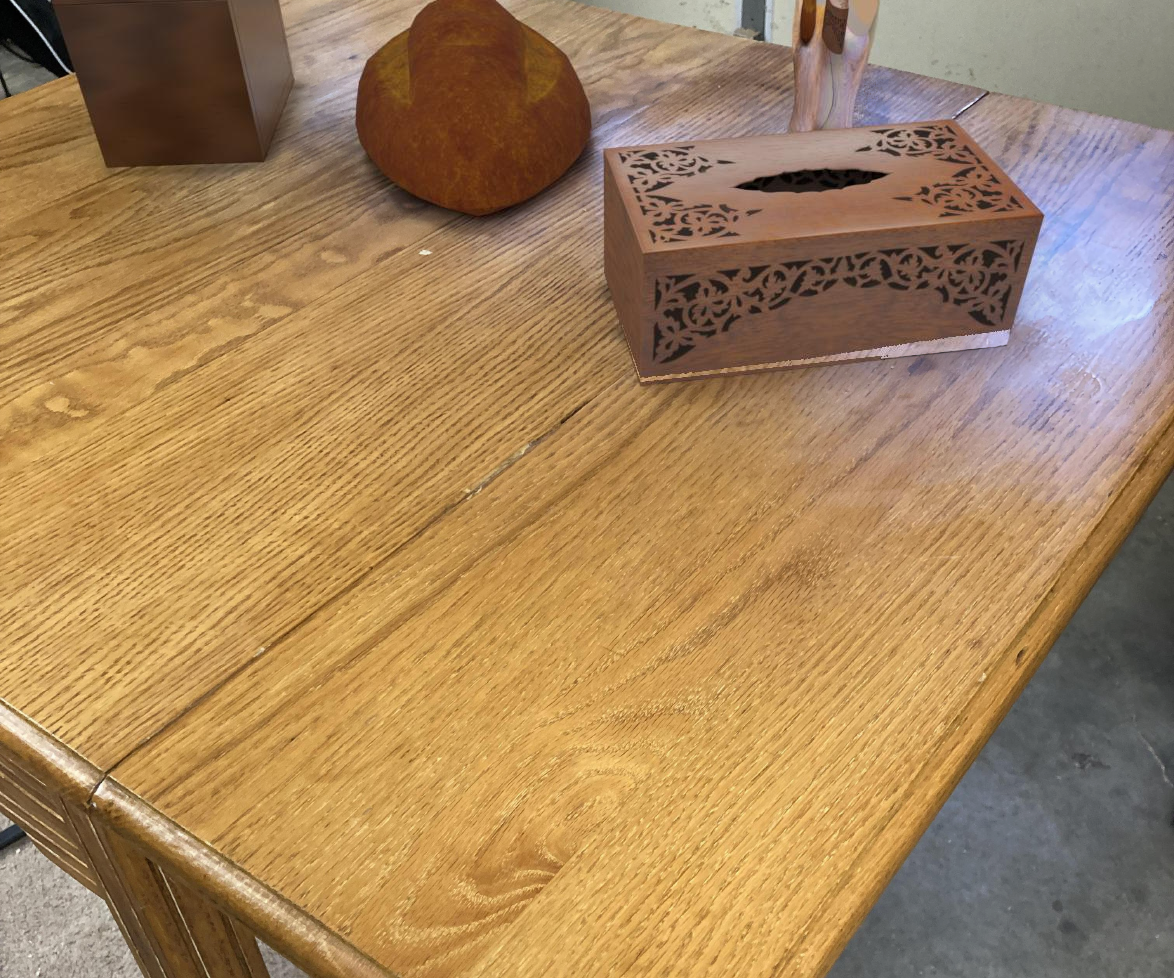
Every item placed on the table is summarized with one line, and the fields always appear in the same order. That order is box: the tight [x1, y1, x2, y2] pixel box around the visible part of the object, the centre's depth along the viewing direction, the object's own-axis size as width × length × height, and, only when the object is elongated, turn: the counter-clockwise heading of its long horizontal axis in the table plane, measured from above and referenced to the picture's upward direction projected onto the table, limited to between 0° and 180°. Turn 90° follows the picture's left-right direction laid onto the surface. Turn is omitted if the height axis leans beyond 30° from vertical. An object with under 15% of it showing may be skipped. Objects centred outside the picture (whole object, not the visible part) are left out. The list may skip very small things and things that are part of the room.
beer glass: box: [785, 0, 881, 133], centre depth 96 cm, size 7×7×15 cm
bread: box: [354, 0, 592, 217], centre depth 98 cm, size 21×33×12 cm, turn 2°
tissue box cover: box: [602, 118, 1045, 386], centre depth 78 cm, size 26×14×10 cm, turn 99°
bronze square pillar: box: [51, 0, 295, 168], centre depth 101 cm, size 14×18×16 cm
